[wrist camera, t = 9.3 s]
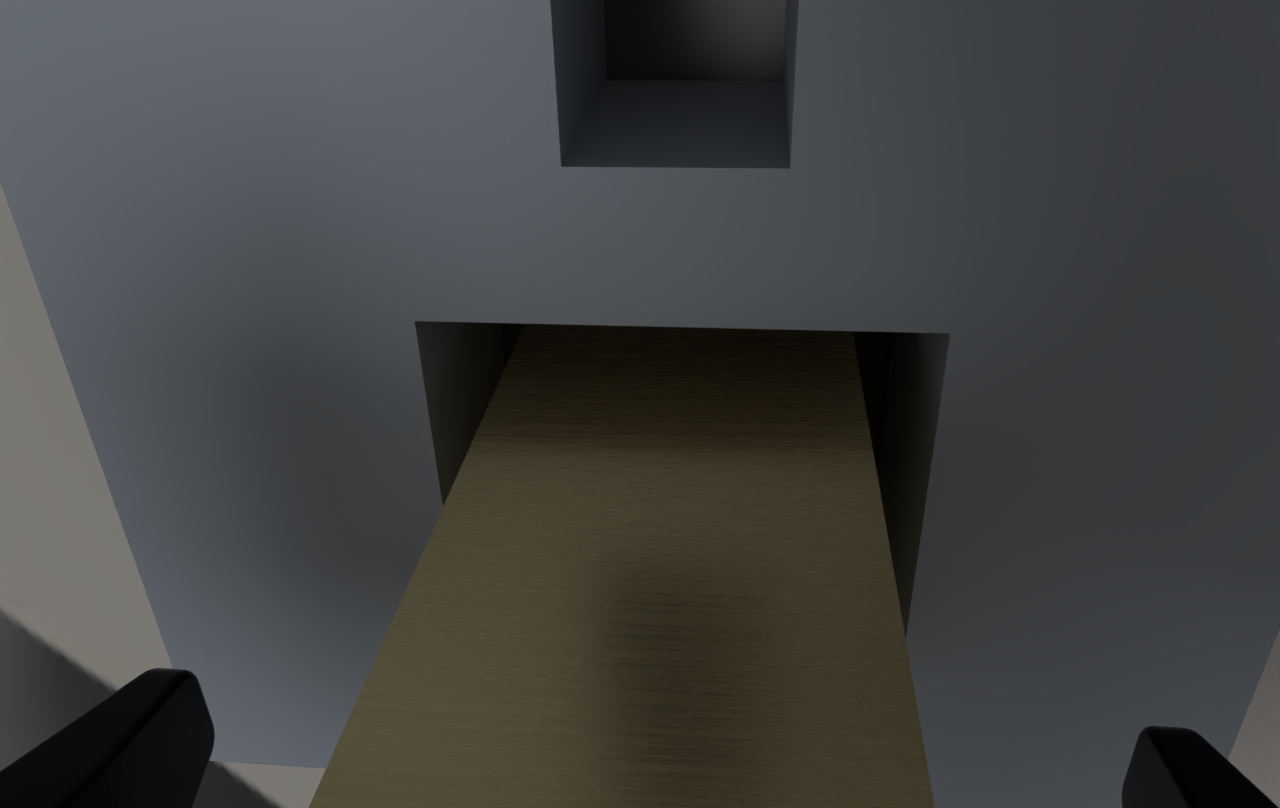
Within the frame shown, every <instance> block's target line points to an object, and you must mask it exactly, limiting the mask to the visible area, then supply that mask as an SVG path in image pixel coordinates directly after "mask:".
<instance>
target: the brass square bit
mask: <svg viewBox="0 0 1280 808" xmlns="http://www.w3.org/2000/svg"><path fill="white" fill-rule="evenodd" d="M309 808H935V806H934V800H933V795H932V789H931V783H930V777H929V772H928V766H927V760H926V754H925V748H924V743H923V737H922V731H921V725H920V719H919V714H918V708H917V702H916V696H915V690H914V685H913V679H912V673H911V667H910V662H909V656H908V650H907V644H906V638H905V633H904V627H903V621H902V615H901V609H900V604H899V598H898V592H897V586H896V581H895V575H894V569H893V563H892V557H891V552H890V546H889V540H888V534H887V528H886V523H885V517H884V511H883V505H882V499H881V494H880V488H879V482H878V476H877V471H876V465H875V459H874V453H873V447H872V442H871V436H870V430H869V424H868V418H867V413H866V407H865V401H864V395H863V389H862V384H861V378H860V372H859V366H858V361H857V355H856V349H855V343H854V337H853V332H852V331H823V330H780V329H736V328H693V327H650V326H607V325H564V324H524V327H523V329H522V331H521V333H520V336H519V338H518V340H517V342H516V345H515V347H514V349H513V351H512V353H511V356H510V358H509V360H508V362H507V365H506V367H505V369H504V371H503V374H502V376H501V378H500V380H499V383H498V385H497V387H496V389H495V392H494V394H493V396H492V398H491V401H490V403H489V405H488V407H487V410H486V412H485V414H484V416H483V418H482V421H481V423H480V425H479V427H478V430H477V432H476V434H475V436H474V439H473V441H472V443H471V445H470V448H469V450H468V452H467V454H466V457H465V459H464V461H463V463H462V466H461V468H460V470H459V472H458V475H457V477H456V479H455V481H454V483H453V486H452V488H451V490H450V492H449V495H448V497H447V499H446V501H445V504H444V506H443V508H442V510H441V513H440V515H439V517H438V519H437V522H436V524H435V526H434V528H433V531H432V533H431V535H430V537H429V540H428V542H427V544H426V546H425V548H424V551H423V553H422V555H421V557H420V560H419V562H418V564H417V566H416V569H415V571H414V573H413V575H412V578H411V580H410V582H409V584H408V587H407V589H406V591H405V593H404V596H403V598H402V600H401V602H400V605H399V607H398V609H397V611H396V613H395V616H394V618H393V620H392V622H391V625H390V627H389V629H388V631H387V634H386V636H385V638H384V640H383V643H382V645H381V647H380V649H379V652H378V654H377V656H376V658H375V661H374V663H373V665H372V667H371V670H370V672H369V674H368V676H367V678H366V681H365V683H364V685H363V687H362V690H361V692H360V694H359V696H358V699H357V701H356V703H355V705H354V708H353V710H352V712H351V714H350V717H349V719H348V721H347V723H346V726H345V728H344V730H343V732H342V734H341V737H340V739H339V741H338V743H337V746H336V748H335V750H334V752H333V755H332V757H331V759H330V761H329V764H328V766H327V768H326V770H325V773H324V775H323V777H322V779H321V782H320V784H319V786H318V788H317V791H316V793H315V795H314V797H313V799H312V802H311V804H310V806H309Z"/></svg>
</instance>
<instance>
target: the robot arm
mask: <svg viewBox="0 0 1280 808" xmlns="http://www.w3.org/2000/svg"><path fill="white" fill-rule="evenodd" d="M214 740H215V731H214V725H213V722H212V719H211V716H210V713H209V710H208V707H207V704H206V701H205V698H204V695H203V692H202V689H201V686H200V683H199V681H198V678H197V676H196V675H194V674H193V673H192V672H191V671H188V670H181V669H164V668H155V669H151V670H148V671H146V672H144V673H143V674H141V675H139V676H138V677H137V678H135V679H134V680H132V681H131V682H129V683H128V684H126V685H125V686H123V687H122V688H121V689H119V690H118V691H116V692H115V693H113V694H112V695H110V696H109V697H107V698H106V699H105V700H103V701H102V702H100V703H99V704H97V705H96V706H94V707H93V708H92V709H90V710H89V711H87V712H86V713H84V714H83V715H82V716H80V717H78V718H77V719H76V720H74V721H73V722H71V723H70V724H68V725H67V726H65V727H64V728H62V729H61V730H60V731H58V732H57V733H55V734H54V735H52V736H51V737H49V738H48V739H46V740H45V741H44V742H42V743H41V744H39V745H38V746H36V747H35V748H33V749H32V750H31V751H29V752H28V753H26V754H25V755H23V756H22V757H20V758H19V759H17V760H16V761H15V762H13V763H12V764H10V765H9V766H7V767H6V768H4V769H3V770H1V771H0V808H193V805H194V802H195V799H196V796H197V794H198V791H199V788H200V785H201V782H202V779H203V776H204V774H205V771H206V768H207V765H208V763H209V760H210V757H211V754H212V751H213V746H214ZM1122 808H1279V807H1278V806H1277V805H1275V804H1274V803H1273V802H1272V801H1271V800H1270V799H1269V798H1268V797H1267V796H1266V795H1265V794H1264V793H1263V792H1261V791H1260V790H1259V789H1258V788H1257V787H1256V786H1255V785H1254V784H1253V783H1252V782H1251V781H1250V780H1248V779H1247V778H1246V777H1245V776H1244V775H1243V774H1242V773H1241V772H1240V771H1239V770H1238V769H1237V768H1236V767H1234V766H1233V765H1232V764H1231V763H1230V762H1229V761H1228V760H1227V759H1226V758H1225V757H1224V756H1223V755H1222V754H1220V753H1219V752H1218V751H1217V750H1216V749H1215V748H1214V747H1213V746H1212V745H1211V744H1210V743H1209V742H1208V741H1206V740H1205V739H1204V738H1203V737H1202V736H1201V735H1200V734H1198V733H1197V732H1195V731H1193V730H1191V729H1188V728H1181V727H1164V726H1148V727H1146V728H1144V729H1143V730H1142V731H1141V732H1140V734H1139V736H1138V739H1137V742H1136V745H1135V748H1134V751H1133V755H1132V758H1131V761H1130V764H1129V767H1128V770H1127V773H1126V776H1125V779H1124V783H1123V787H1122Z"/></svg>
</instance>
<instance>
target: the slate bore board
mask: <svg viewBox="0 0 1280 808" xmlns="http://www.w3.org/2000/svg"><path fill="white" fill-rule="evenodd" d="M0 181H1V184H2V187H3V190H4V193H5V196H6V198H7V201H8V204H9V207H10V210H11V212H12V215H13V218H14V221H15V224H16V227H17V229H18V232H19V235H20V238H21V241H22V244H23V246H24V249H25V252H26V255H27V258H28V260H29V263H30V266H31V269H32V272H33V275H34V277H35V280H36V283H37V286H38V289H39V292H40V294H41V297H42V300H43V303H44V306H45V308H46V311H47V314H48V317H49V320H50V323H51V325H52V328H53V331H54V334H55V337H56V339H57V342H58V345H59V348H60V351H61V354H62V356H63V359H64V362H65V365H66V368H67V371H68V373H69V376H70V379H71V382H72V385H73V387H74V390H75V393H76V396H77V399H78V402H79V404H80V407H81V410H82V413H83V416H84V418H85V421H86V424H87V427H88V430H89V433H90V435H91V438H92V441H93V444H94V447H95V450H96V452H97V455H98V458H99V461H100V464H101V466H102V469H103V472H104V475H105V478H106V481H107V483H108V486H109V489H110V492H111V495H112V497H113V500H114V503H115V506H116V509H117V512H118V514H119V517H120V520H121V523H122V526H123V529H124V531H125V534H126V537H127V540H128V543H129V545H130V548H131V551H132V554H133V557H134V560H135V562H136V565H137V568H138V571H139V574H140V576H141V579H142V582H143V585H144V588H145V591H146V593H147V596H148V599H149V602H150V605H151V608H152V610H153V613H154V616H155V619H156V622H157V624H158V627H159V630H160V633H161V636H162V639H163V641H164V644H165V647H166V650H167V653H168V655H169V658H170V661H171V664H172V667H173V669H181V670H188V671H191V672H192V673H193V674H194V675H196V676H197V678H198V681H199V683H200V686H201V689H202V692H203V695H204V698H205V701H206V704H207V707H208V710H209V713H210V716H211V719H212V722H213V725H214V731H215V740H214V746H213V751H212V754H211V757H210V760H209V761H224V762H238V763H253V764H268V765H282V766H297V767H311V768H327V766H328V764H329V761H330V759H331V757H332V755H333V752H334V750H335V748H336V746H337V743H338V741H339V739H340V737H341V734H342V732H343V730H344V728H345V726H346V723H347V721H348V719H349V717H350V714H351V712H352V710H353V708H354V705H355V703H356V701H357V699H358V696H359V694H360V692H361V690H362V687H363V685H364V683H365V681H366V678H367V676H368V674H369V672H370V670H371V667H372V665H373V663H374V661H375V658H376V656H377V654H378V652H379V649H380V647H381V645H382V643H383V640H384V638H385V636H386V634H387V631H388V629H389V627H390V625H391V622H392V620H393V618H394V616H395V613H396V611H397V609H398V607H399V605H400V602H401V600H402V598H403V596H404V593H405V591H406V589H407V587H408V584H409V582H410V580H411V578H412V575H413V573H414V571H415V569H416V566H417V564H418V562H419V560H420V557H421V555H422V553H423V551H424V548H425V546H426V544H427V542H428V540H429V537H430V535H431V533H432V531H433V528H434V526H435V524H436V522H437V519H438V517H439V515H440V513H441V510H442V508H443V506H444V504H445V501H446V499H447V497H448V495H449V492H450V490H451V488H452V486H453V483H454V481H455V479H456V477H457V475H458V472H459V470H460V468H461V466H462V463H463V461H464V459H465V457H466V454H467V452H468V450H469V448H470V445H471V443H472V441H473V439H474V436H475V434H476V432H477V430H478V427H479V425H480V423H481V421H482V418H483V416H484V414H485V412H486V410H487V407H488V405H489V403H490V401H491V398H492V396H493V394H494V392H495V389H496V387H497V385H498V383H499V380H500V378H501V376H502V374H503V371H504V369H505V358H504V348H503V339H502V329H501V323H521V324H564V325H607V326H650V327H693V328H736V329H780V330H823V331H866V332H894V338H893V347H892V355H891V364H890V373H889V381H888V390H887V399H886V408H885V416H884V425H883V434H882V442H881V451H880V460H879V468H878V482H879V488H880V494H881V499H882V505H883V511H884V517H885V523H886V528H887V534H888V540H889V546H890V552H891V557H892V563H893V569H894V575H895V581H896V586H897V592H898V598H899V604H900V609H901V615H902V621H903V627H904V633H905V638H906V644H907V650H908V656H909V662H910V667H911V673H912V679H913V685H914V690H915V696H916V702H917V708H918V714H919V719H920V725H921V731H922V737H923V743H924V748H925V754H926V760H927V766H928V772H929V777H930V783H931V789H932V795H933V800H934V806H935V808H1122V787H1123V783H1124V779H1125V776H1126V773H1127V770H1128V767H1129V764H1130V761H1131V758H1132V755H1133V751H1134V748H1135V745H1136V742H1137V739H1138V736H1139V734H1140V732H1141V731H1142V730H1143V729H1144V728H1146V727H1148V726H1164V727H1181V728H1188V729H1191V730H1193V731H1195V732H1197V733H1198V734H1200V735H1201V736H1202V737H1203V738H1204V739H1205V740H1206V741H1208V742H1209V743H1210V744H1211V745H1212V746H1213V747H1214V748H1215V749H1216V750H1217V751H1218V752H1219V753H1220V754H1222V755H1223V756H1224V757H1225V758H1226V759H1228V757H1229V754H1230V752H1231V749H1232V747H1233V744H1234V741H1235V739H1236V736H1237V734H1238V731H1239V729H1240V726H1241V724H1242V721H1243V719H1244V716H1245V714H1246V711H1247V709H1248V706H1249V704H1250V701H1251V698H1252V696H1253V693H1254V691H1255V688H1256V686H1257V683H1258V681H1259V678H1260V676H1261V673H1262V671H1263V668H1264V666H1265V663H1266V661H1267V658H1268V655H1269V653H1270V650H1271V648H1272V645H1273V643H1274V640H1275V638H1276V635H1277V633H1278V630H1279V628H1280V0H787V7H786V29H785V50H784V72H783V81H607V59H606V34H605V8H604V0H0Z"/></svg>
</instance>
